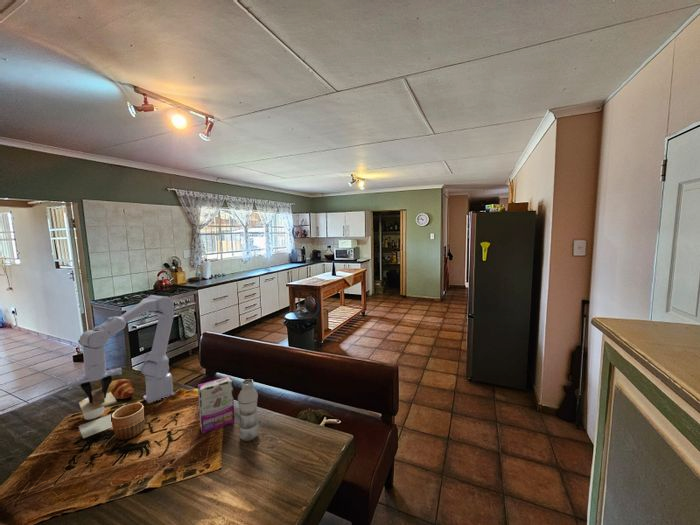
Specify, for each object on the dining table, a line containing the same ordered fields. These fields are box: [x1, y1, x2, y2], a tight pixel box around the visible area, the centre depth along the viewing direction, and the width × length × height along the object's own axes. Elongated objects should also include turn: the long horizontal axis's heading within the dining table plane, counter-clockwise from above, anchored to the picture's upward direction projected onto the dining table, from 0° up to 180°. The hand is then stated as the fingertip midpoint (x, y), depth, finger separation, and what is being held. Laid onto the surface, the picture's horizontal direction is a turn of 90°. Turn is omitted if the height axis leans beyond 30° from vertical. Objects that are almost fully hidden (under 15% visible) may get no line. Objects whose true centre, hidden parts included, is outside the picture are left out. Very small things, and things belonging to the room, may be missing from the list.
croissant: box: [100, 378, 135, 400], centre depth 125 cm, size 21×10×8 cm, turn 69°
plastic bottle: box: [237, 378, 260, 442], centre depth 98 cm, size 6×7×20 cm
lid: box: [78, 387, 118, 414], centre depth 103 cm, size 9×9×4 cm
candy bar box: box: [197, 375, 235, 435], centre depth 104 cm, size 11×5×16 cm, turn 126°
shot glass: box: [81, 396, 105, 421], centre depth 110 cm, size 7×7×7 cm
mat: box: [77, 413, 113, 439], centre depth 104 cm, size 10×10×1 cm
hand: (97, 399), depth 103 cm, fingers closed on lid, 3 cm apart
